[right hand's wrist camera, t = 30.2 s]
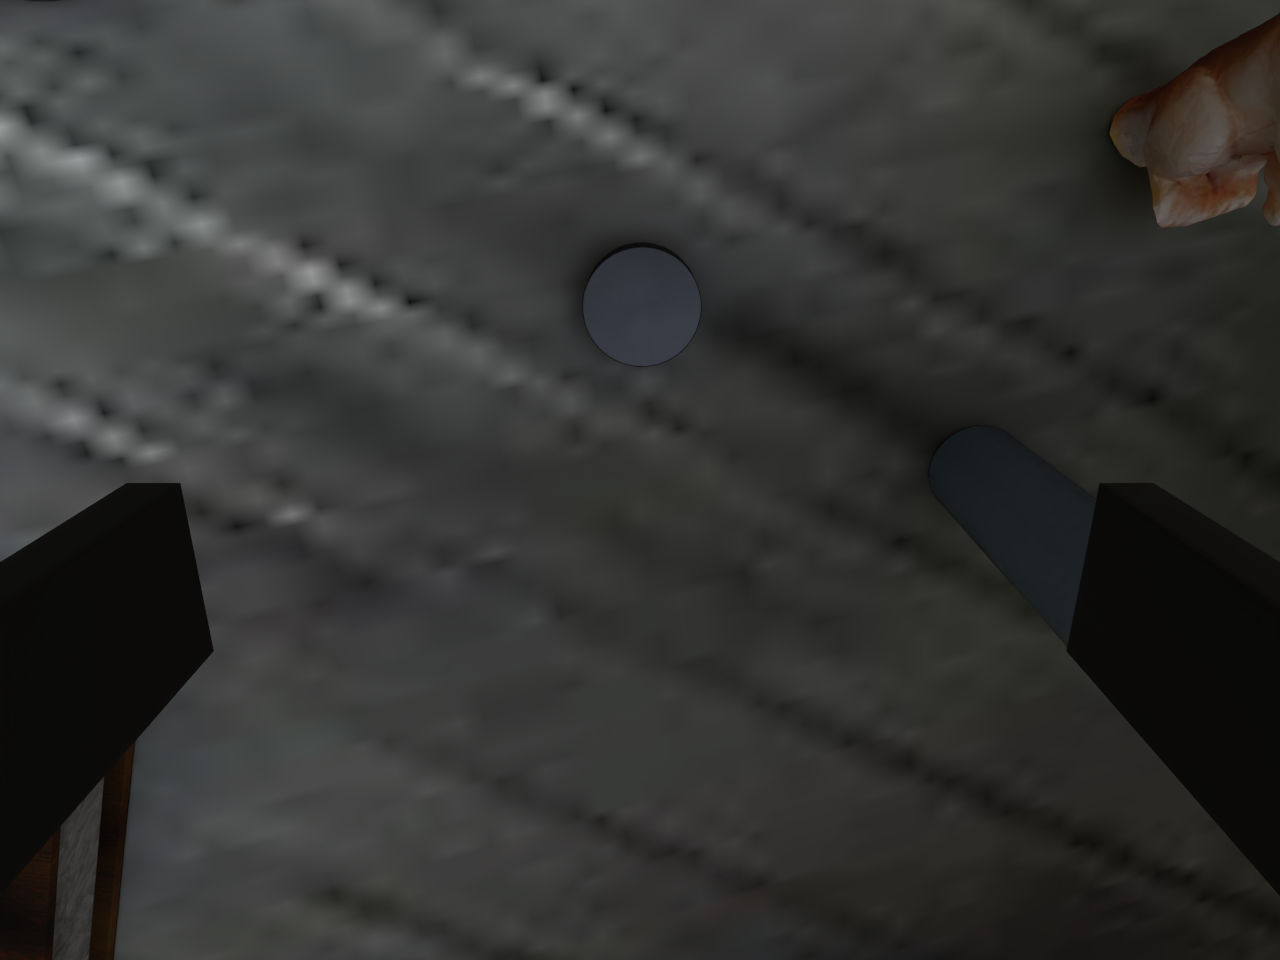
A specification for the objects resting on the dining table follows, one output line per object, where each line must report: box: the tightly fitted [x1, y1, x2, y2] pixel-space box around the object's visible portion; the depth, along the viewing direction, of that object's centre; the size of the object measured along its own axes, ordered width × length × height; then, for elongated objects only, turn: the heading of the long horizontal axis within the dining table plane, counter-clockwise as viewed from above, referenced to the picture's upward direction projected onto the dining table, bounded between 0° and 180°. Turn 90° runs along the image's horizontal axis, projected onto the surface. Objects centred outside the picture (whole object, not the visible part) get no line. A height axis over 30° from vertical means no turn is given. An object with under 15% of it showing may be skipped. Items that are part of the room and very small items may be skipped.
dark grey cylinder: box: [929, 426, 1097, 646], centre depth 33 cm, size 4×4×17 cm
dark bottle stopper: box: [582, 243, 701, 367], centre depth 37 cm, size 5×5×2 cm
